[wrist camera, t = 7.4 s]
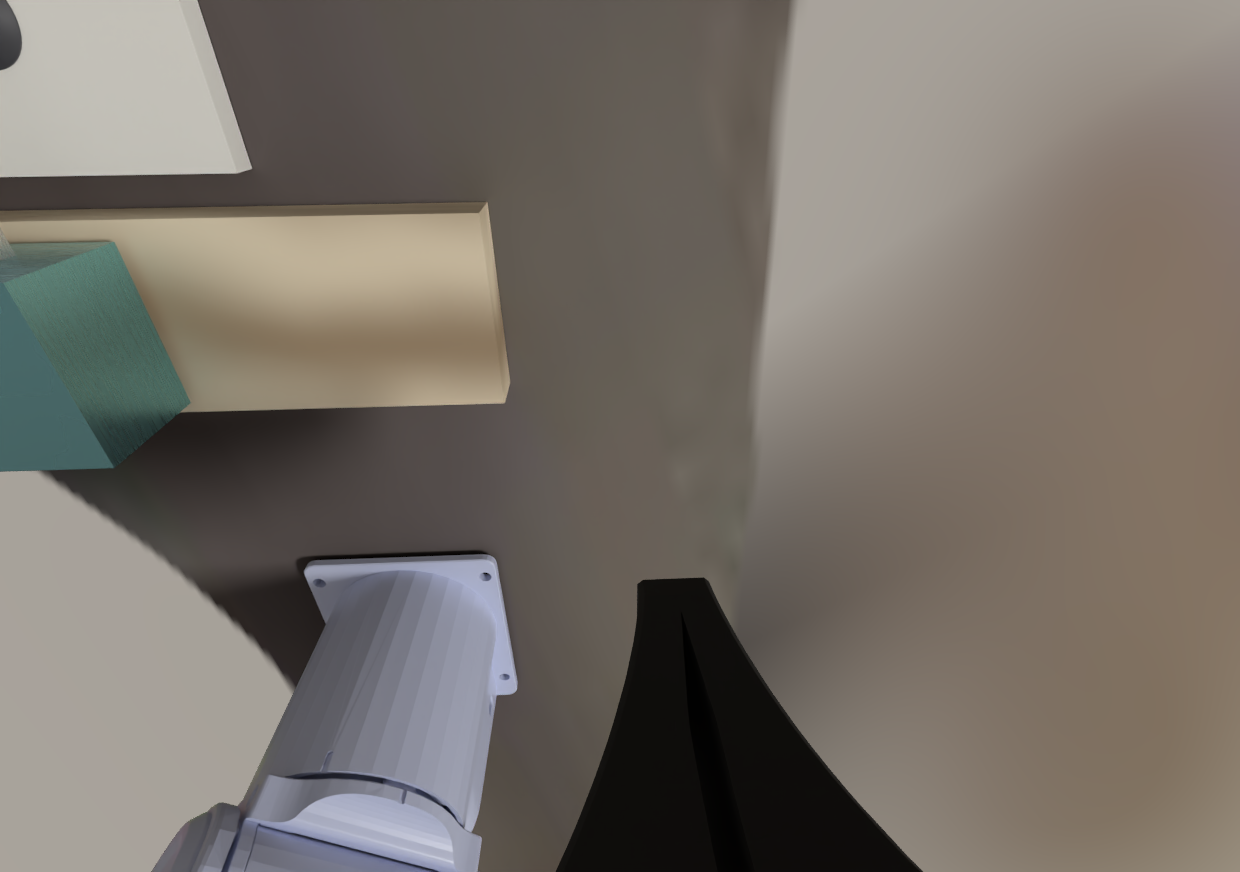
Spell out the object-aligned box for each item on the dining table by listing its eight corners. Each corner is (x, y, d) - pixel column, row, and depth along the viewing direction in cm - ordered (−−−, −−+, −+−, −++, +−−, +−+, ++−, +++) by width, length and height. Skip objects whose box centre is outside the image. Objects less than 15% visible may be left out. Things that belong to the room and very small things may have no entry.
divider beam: (510, 382, 20) (489, 464, 16) (-198, 401, 20) (-413, 493, 15) (460, -8, 14) (407, -38, 10) (-559, -1, 14) (-1067, -30, 9)
